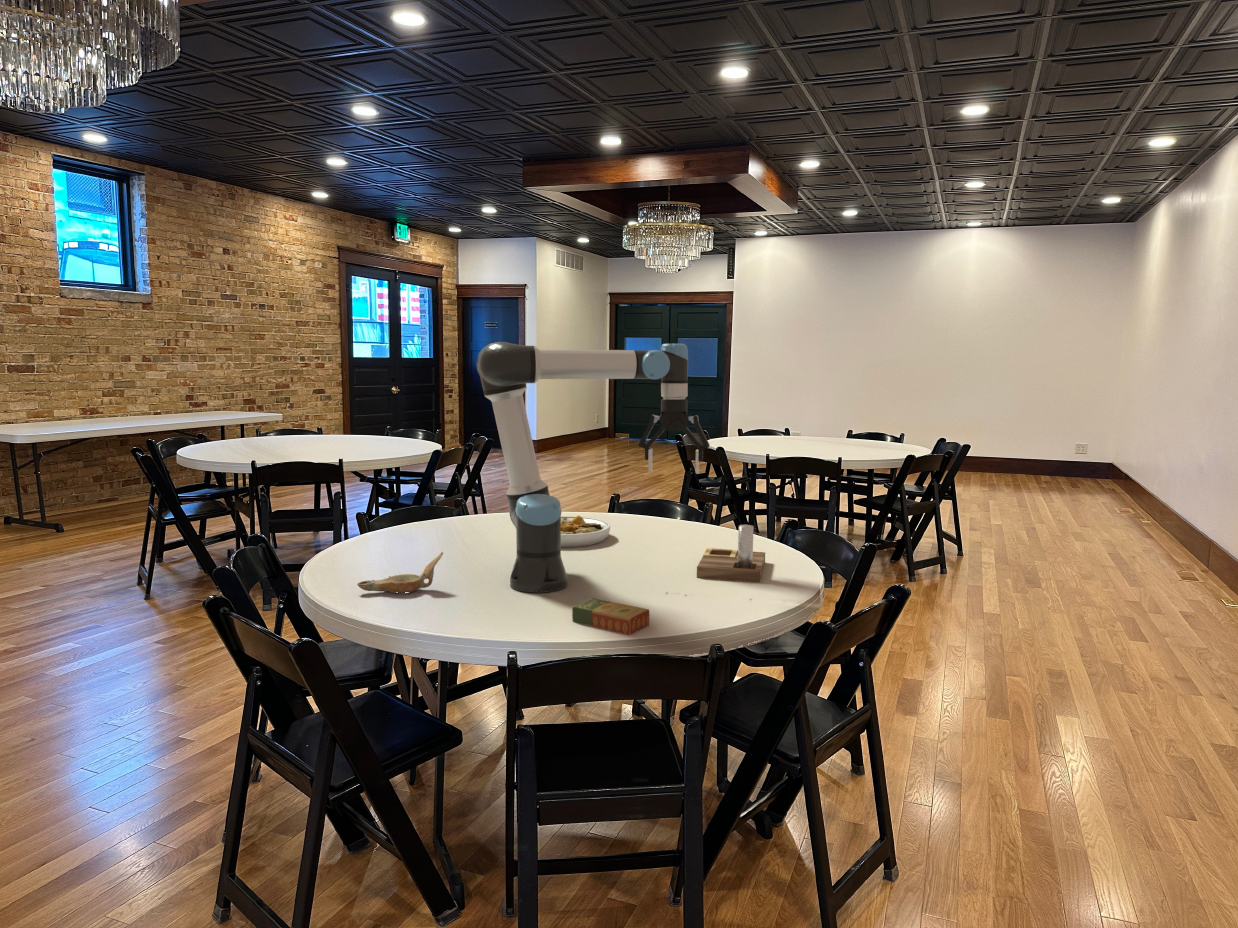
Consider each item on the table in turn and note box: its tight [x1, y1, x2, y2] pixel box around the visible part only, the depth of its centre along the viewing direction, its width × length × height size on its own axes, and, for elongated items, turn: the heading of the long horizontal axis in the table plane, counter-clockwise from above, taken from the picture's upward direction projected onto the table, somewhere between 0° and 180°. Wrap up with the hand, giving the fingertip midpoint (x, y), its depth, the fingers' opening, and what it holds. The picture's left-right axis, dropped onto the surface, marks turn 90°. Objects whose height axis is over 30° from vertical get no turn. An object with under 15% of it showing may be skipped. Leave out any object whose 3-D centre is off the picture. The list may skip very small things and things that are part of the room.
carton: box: [571, 597, 650, 636], centre depth 182 cm, size 8×16×4 cm, turn 56°
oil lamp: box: [356, 551, 444, 594], centre depth 205 cm, size 9×21×10 cm, turn 104°
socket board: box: [696, 547, 766, 583], centre depth 226 cm, size 22×17×4 cm
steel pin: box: [737, 524, 754, 569], centre depth 219 cm, size 4×4×14 cm
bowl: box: [561, 515, 611, 548], centre depth 268 cm, size 30×30×8 cm
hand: (673, 472), depth 231 cm, fingers open, 13 cm apart
